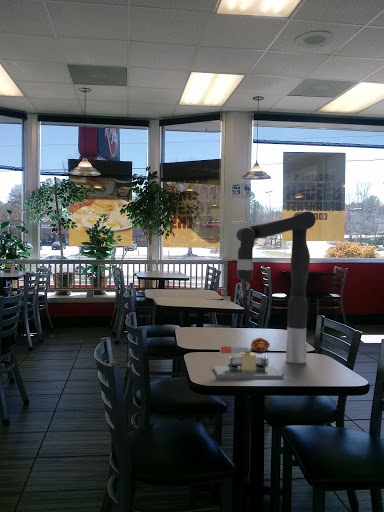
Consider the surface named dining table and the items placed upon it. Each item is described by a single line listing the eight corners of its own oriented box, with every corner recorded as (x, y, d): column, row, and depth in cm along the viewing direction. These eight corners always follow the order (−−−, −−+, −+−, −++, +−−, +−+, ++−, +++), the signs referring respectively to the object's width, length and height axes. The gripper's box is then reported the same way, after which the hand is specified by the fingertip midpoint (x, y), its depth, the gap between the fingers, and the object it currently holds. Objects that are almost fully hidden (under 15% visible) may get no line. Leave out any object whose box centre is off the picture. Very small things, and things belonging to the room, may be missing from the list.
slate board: (273, 369, 211) (273, 366, 211) (282, 379, 196) (282, 375, 196) (213, 369, 208) (213, 366, 208) (218, 378, 193) (218, 375, 193)
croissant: (254, 351, 266) (248, 338, 267) (270, 343, 265) (264, 331, 266) (254, 358, 245) (248, 345, 246) (272, 350, 244) (265, 337, 245)
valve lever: (249, 352, 204) (250, 346, 204) (251, 353, 201) (251, 347, 201) (220, 352, 202) (220, 345, 202) (221, 353, 199) (221, 346, 199)
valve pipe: (264, 369, 206) (265, 352, 206) (268, 372, 200) (269, 355, 200) (226, 368, 204) (226, 352, 204) (228, 372, 198) (229, 355, 198)
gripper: (234, 268, 227) (233, 303, 227) (240, 269, 213) (239, 306, 214) (249, 268, 227) (248, 303, 228) (256, 269, 214) (255, 306, 215)
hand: (244, 304), depth 221 cm, fingers closed
